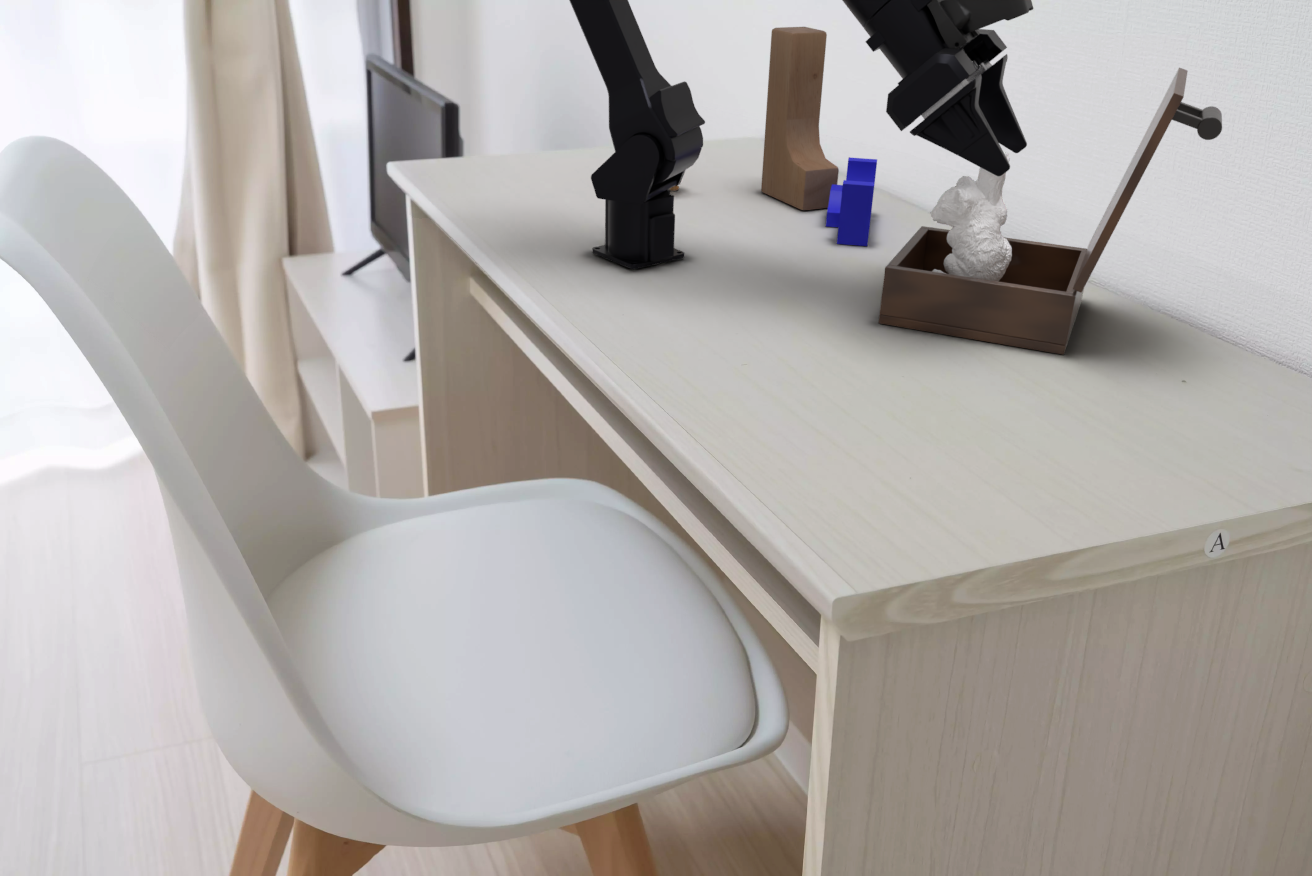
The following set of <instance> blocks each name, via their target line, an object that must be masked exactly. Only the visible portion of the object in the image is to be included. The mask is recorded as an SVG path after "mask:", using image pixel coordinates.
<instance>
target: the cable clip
mask: <svg viewBox="0 0 1312 876" xmlns="http://www.w3.org/2000/svg"><path fill="white" fill-rule="evenodd" d="M877 165H878V159H877V158H863V157H848V160H847V168H846V176H845V179H844V180H843V181H842V184H837V185H833V184H832V186H831V190H830V197H829V204H828V208H827V210H826V217H825V218H826V220H825V227H826V228H827V227H829V228H837V229H838V230H837V238H836V244H837V245H849V246H859V247H860V246H861V247H868V245H869V244H868V243H869V234H870V227H871V219H872V212H873V211H872V210H873V202H874V201H873V200H874V194H875V193H874V191H875V183H876V175H877Z"/></svg>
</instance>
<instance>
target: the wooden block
mask: <svg viewBox="0 0 1312 876" xmlns="http://www.w3.org/2000/svg"><path fill="white" fill-rule="evenodd" d="M827 36H828V34H827V32H826V31H825V30H821V29H817V28H813V27H809V26H808V27H807V26H785V27H783V26H782V27H774V28H772V30H771V36H770V49H769V50H770V51H769V67H768V82H767V97H766V111H765V126H764V127H765V128H764V140H763V141H764V143H763V158H762V171H761V188H760V190H761V192H762V193H763V194H765V195H768V196H770V197H772V198H774V199H775V200H776V199H777V200H778V201H780V202H783V203H785V204H788V205H790V206H792V207H794V208H797V209H798V210H801V211H811V210H820V209H822V210H823V209H828V204H829V197H830V190H831V186H832V184H833V185H838V181H839V173H840V171H839V170H840V169H839V167H838V166H837V165H836V164H834V163H833V162H831V161H830V160H828V159H827V158H826V156H825V153H824V151H823V148H822V146H821V145H822V144H821V142H820V117H821V116H820V115H821V106H822V95H823V82H824V72H825V71H824V69H825V61H826V48H827V47H826V46H827Z"/></svg>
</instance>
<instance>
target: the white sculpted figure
mask: <svg viewBox="0 0 1312 876" xmlns="http://www.w3.org/2000/svg"><path fill="white" fill-rule="evenodd" d="M1003 152H1004V154H1005V156H1006V158H1007V160H1008V162H1009V163H1010V159H1011V158H1010V153H1007V152H1005V151H1004V150H1003ZM1006 174H1007V172H1005V173H1004V174H1003V175H1001V176H996V175H994V174H992V173H990V172H988V171H987V170H985V169H983V168H981V167H979V169H978V176H977V179H976V180H975V179H973V178H972V177H971V176H970V175H962V176H961V177H960V178H959V179H958V180H957V181H956V184H955V186H952V187H950V188H948V189H946V190H945V191H944V192H943V194H941V195H940V197H939V198H938V200H937V202H936V204H935V206H933V208H932V210H931V211H930V217H931V218H932V220H933V222H936V223H937V224H941V225H946V226H949V227H951V228H950V229H949V230H950V231H949V232H948V234H947V242H948V244H949V245H950V246H951V247H952V254H949V255H948V256H946V258H945V259H944V263H943V264H944V267H945V270H946V272H947V273H949V274H952V275H958V276H965V277H972V278H978V279H985V280H991V281H999V280H1000V279H1001V278H1002V277H1003V275H1004V274H1005V271H1006V269H1007V267H1008V265H1009V262H1011V259H1012V258H1011V257H1012V248H1011V246H1010V244H1009V242H1008V240H1007V239H1005V238H1006V237H1005V238H1003V237H1004V236H1003V235H1002V231H1001V227H1003V226H1004V225H1005V224H1006V221H1007V218H1008V208H1007V205H1006V203H1005V201H1004V198H1003V188H1004V185H1005V181H1006ZM932 272H938V273H944V272H942V271H941V270H936V269H934V270H933V271H932ZM945 274H946V273H945Z"/></svg>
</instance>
